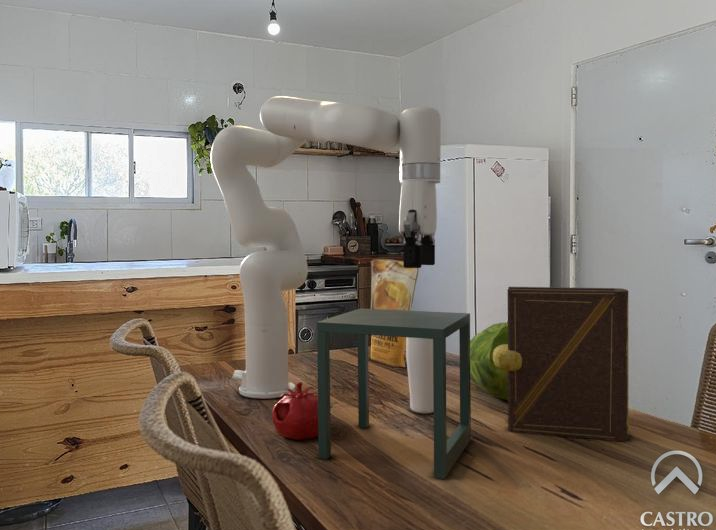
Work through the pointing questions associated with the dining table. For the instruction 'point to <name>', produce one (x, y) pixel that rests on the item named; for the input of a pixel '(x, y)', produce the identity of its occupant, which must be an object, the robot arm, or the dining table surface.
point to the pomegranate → (297, 414)
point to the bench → (438, 330)
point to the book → (567, 361)
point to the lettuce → (489, 360)
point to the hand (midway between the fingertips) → (419, 266)
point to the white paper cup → (420, 374)
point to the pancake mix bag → (391, 305)
